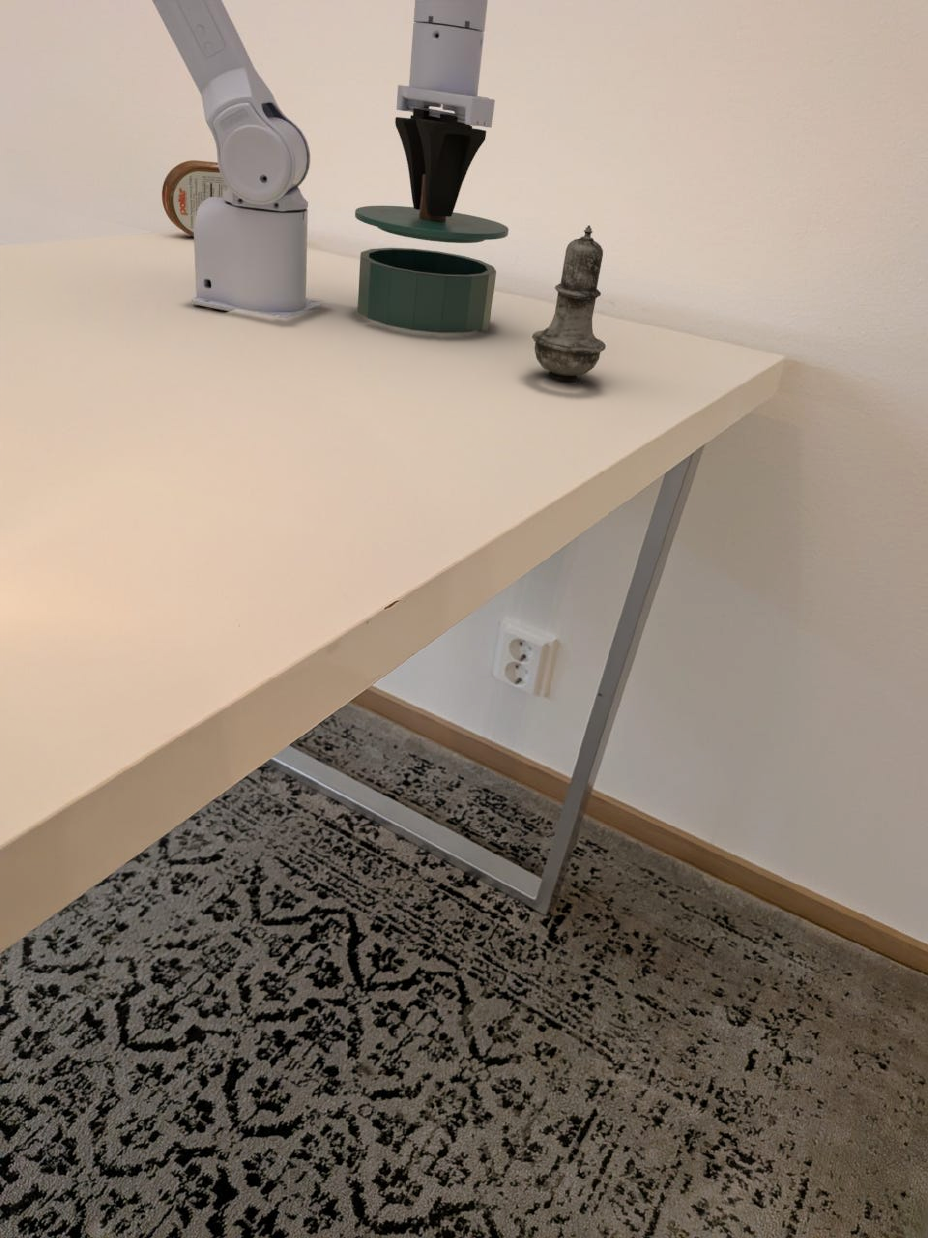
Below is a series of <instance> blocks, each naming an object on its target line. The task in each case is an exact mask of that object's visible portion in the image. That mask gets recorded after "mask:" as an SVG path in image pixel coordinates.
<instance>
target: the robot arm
mask: <svg viewBox="0 0 928 1238" xmlns="http://www.w3.org/2000/svg"><path fill="white" fill-rule="evenodd" d="M151 1H152V3H153V5H154V7H155V8H156V11H157V12H158V14H159V16H160V18H161V20H162V22H163V24H164V26H165V28H166V30H167V32H168V34H169V36H170V37H171V39H172V41H173V43H174V45H175V47H176V49H177V52H178V53H179V55H180V57H181V59H182V61H183V63H184V65H185V67H186V68H187V70H188V72H189V74H190V76H191V78H192V80H193V82H194V84H195V86H196V87H197V91H199V93H200V97H201V102H202V109H203V114H204V119H205V123H206V125H207V127H208V129H209V131H210V132H211V134H212V137H213V140H214V143H215V146H216V147H215V148H216V156H217V163H218V166H219V170H220V173H221V176H222V178H223V180H224V182H225V183H226V185H227V186H228V188H229V189H228V190H226V191H224V192H223V198H221V197H209V198H207V199H206V200H204V201H203V202H202V203H201V205H200V206H199V208H198V211H197V214H196V218H195V224H194V236H193V247H194V269H195V271H194V272H195V274H194V275H195V293H196V294H195V295H196V296H195V297H193V298H191V304H192V305H196V306H201V307H205V308H209V309H215V310H220V311H225V312H231V311H235V310H240V311H245V312H250V313H255V314H258V315H259V314H260V315H265V316H269V317H276V318H279V319H288V318H291V317H293V316H296V315H298V314H301V313H304V312H306V311H308V310H311V309H314V308H317V307H319V306H322V305H323V302H321V301H316V300H311V299H307V267H308V266H307V264H308V261H307V260H308V255H307V254H308V222H309V221H308V217H309V215H308V214H309V209H308V207H309V202H308V201H307V199H306V198H305V197H304V196H303V194H302V191H301V189H300V188H299V187H300V185H302V184H303V182H304V181H305V179H306V177H307V176H308V173H309V171H310V166H311V152H310V146H309V143H308V140H307V138H306V136H305V134H304V133H303V131H302V130H301V129H300V127H299V126H298V125H297V124H296V123H294V122H293V121H292V120H291V119H289V118H288V117H287V116H286V115H285V113H284V112H283V111H282V110H281V108H280V107H279V105H278V103H277V100H276V98H275V95H274V94H273V93H272V91H271V90H270V88H269V87H268V85H267V84H266V83H265V81H264V79H263V78H262V77H261V76H260V74H259V73H258V71H257V69H256V68H255V65H254V64H253V62H252V60H251V58H250V56H249V54H248V52H247V49H246V48H245V46H244V44H243V41H242V39H241V38H240V35H239V33H238V30H237V29H236V27H235V25H234V23H233V20H232V19H231V17H230V14H229V13H228V10H227V8H226V5H225V4H224V1H223V0H151ZM488 1H489V0H414V11H413V24H412V39H411V49H410V50H411V51H410V64H409V65H410V66H409V79H408V85H403V84H402V85H400V84H398V85H397V95H396V110H397V111H402V112H409V113H412V114H411V115H410V118H409V117H401V116H396V117H395V118H394V122H395V123H394V124H395V127H396V130H397V132H398V135H399V138H400V140H401V143H402V146H403V150H404V155H405V158H406V164H407V169H408V177H409V184H410V185H409V186H410V193H411V201H412V207H414V209H416V210H420V199H421V186H422V174H423V173H426V207H427V213H428V214H429V215H432V216H448V217H451V216H452V213H453V212H454V210H455V208H456V205H457V202H458V198H459V196H460V192H461V189H462V186H463V183H464V180H465V178H466V176H467V172H468V170H469V168H470V166H471V163H472V162H473V159H474V158H475V156H476V154H477V153H478V152H479V149H480V148H481V146H482V145H483V143H484V142H485V141H486V137H487V131H486V129H485V130H484V129H480V128H475V127H483V128H492V127H493V118H494V111H495V102H496V100H495V99H493V98H490V97H486V96H479V95H478V94H479V85H480V75H481V66H482V65H481V64H482V58H483V57H482V56H483V48H484V47H483V46H484V39H485V37H484V36H485V30H486V20H487V11H488ZM430 107H431V108H430ZM434 108H441V109H442V110H438V109H434ZM450 111H451V112H450ZM473 127H474V128H473Z"/></svg>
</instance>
